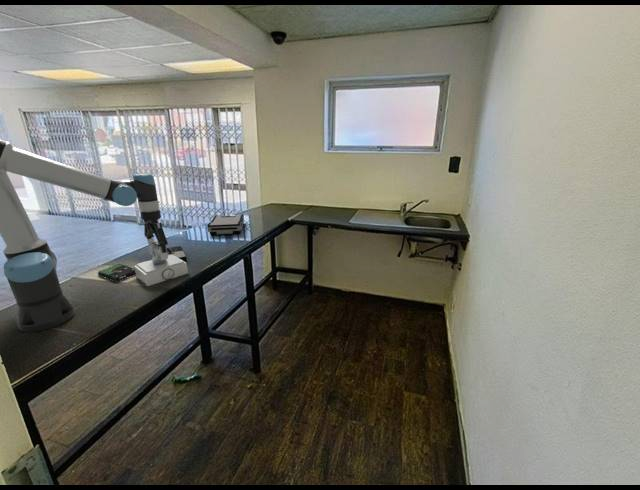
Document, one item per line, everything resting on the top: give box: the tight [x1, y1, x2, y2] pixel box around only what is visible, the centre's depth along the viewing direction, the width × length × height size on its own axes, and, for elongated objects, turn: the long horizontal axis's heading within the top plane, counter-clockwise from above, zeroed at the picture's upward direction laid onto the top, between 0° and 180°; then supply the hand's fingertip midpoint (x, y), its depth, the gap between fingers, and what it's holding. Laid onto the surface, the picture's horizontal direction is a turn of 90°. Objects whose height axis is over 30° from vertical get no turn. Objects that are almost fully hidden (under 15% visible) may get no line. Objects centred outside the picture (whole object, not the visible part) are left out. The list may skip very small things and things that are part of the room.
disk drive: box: [97, 263, 136, 282], centre depth 139 cm, size 10×3×15 cm
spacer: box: [148, 240, 167, 265], centre depth 135 cm, size 6×6×10 cm
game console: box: [206, 214, 244, 237], centre depth 209 cm, size 21×32×8 cm, turn 10°
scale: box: [133, 255, 189, 287], centre depth 137 cm, size 18×15×6 cm
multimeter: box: [166, 245, 188, 263], centre depth 157 cm, size 13×19×5 cm
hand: (158, 255), depth 135 cm, fingers open, 13 cm apart
